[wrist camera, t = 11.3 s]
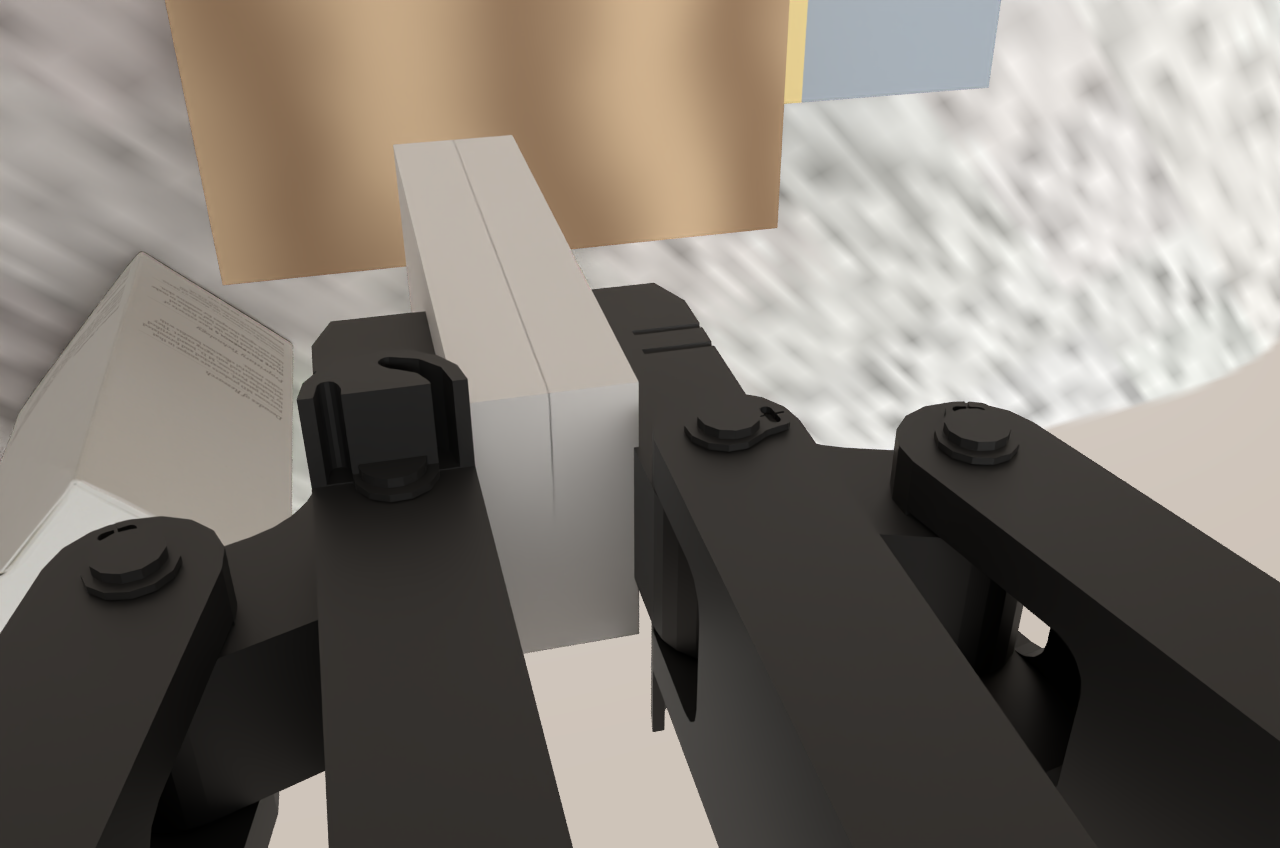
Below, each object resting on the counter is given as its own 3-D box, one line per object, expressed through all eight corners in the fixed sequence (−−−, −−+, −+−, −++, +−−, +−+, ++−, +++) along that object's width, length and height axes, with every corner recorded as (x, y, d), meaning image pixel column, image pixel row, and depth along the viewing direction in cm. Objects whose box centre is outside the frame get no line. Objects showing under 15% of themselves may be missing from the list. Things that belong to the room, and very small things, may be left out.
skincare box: (170, 496, 46) (125, 809, 33) (2, 409, 43) (-122, 720, 30) (302, 336, 44) (308, 604, 31) (136, 232, 41) (65, 484, 28)
